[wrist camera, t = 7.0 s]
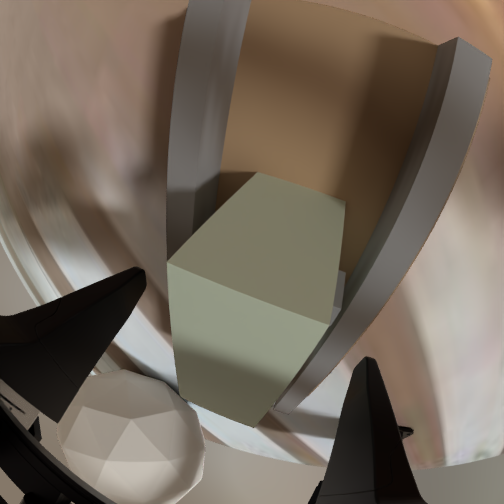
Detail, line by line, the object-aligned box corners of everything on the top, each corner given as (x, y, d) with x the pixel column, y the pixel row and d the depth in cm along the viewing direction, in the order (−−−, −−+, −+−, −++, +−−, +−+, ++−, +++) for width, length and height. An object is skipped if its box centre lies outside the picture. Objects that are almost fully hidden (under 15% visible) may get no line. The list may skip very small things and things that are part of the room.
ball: (217, 370, 37) (232, 489, 28) (107, 371, 38) (119, 475, 29) (159, 362, 20) (191, 552, 11) (23, 354, 21) (43, 499, 12)
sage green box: (298, 333, 14) (265, 432, 10) (231, 307, 15) (179, 396, 10) (359, 206, 9) (355, 333, 5) (257, 171, 10) (166, 262, 5)
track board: (310, 385, 19) (301, 418, 17) (182, 334, 21) (163, 362, 18) (479, 77, 5) (517, 79, 3) (209, 1, 7) (166, -16, 5)
